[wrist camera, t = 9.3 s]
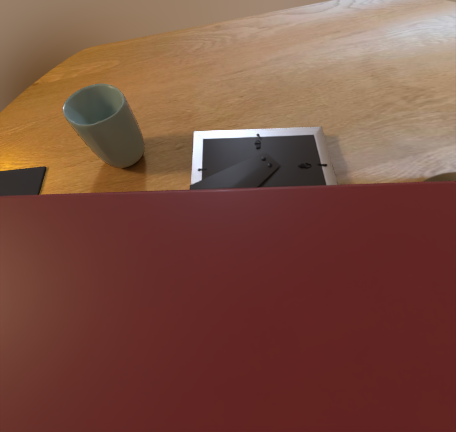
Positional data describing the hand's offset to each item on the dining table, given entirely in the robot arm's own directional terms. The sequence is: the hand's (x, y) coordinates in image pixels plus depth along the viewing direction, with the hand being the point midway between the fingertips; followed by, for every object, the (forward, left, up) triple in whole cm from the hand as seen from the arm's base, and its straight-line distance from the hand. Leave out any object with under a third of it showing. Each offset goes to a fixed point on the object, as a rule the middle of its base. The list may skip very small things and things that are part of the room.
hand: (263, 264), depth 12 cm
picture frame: (+16, +9, -18) cm, 26 cm away
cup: (+6, +29, -18) cm, 35 cm away
